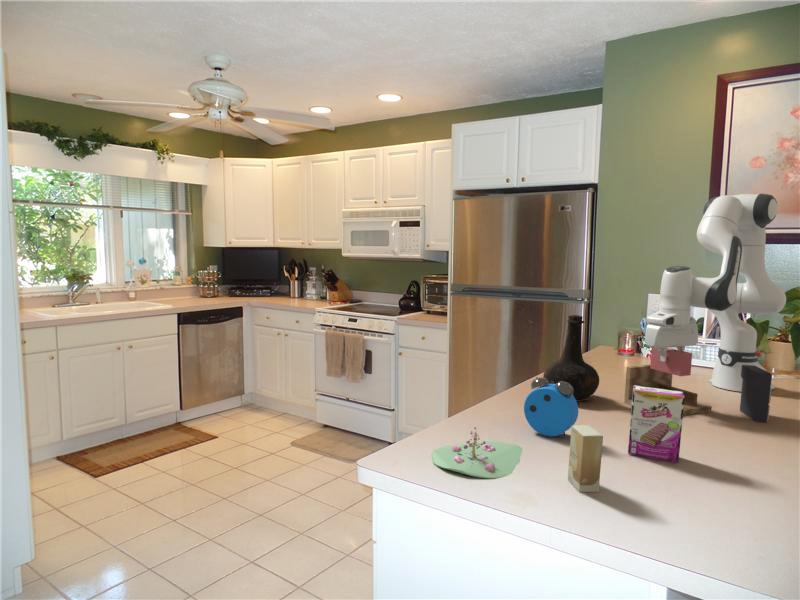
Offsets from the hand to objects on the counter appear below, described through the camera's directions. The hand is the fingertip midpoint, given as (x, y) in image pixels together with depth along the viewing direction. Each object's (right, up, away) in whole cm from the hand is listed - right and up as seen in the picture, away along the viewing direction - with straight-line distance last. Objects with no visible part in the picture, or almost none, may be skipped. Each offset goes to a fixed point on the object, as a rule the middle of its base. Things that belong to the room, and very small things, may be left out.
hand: (670, 360), depth 164 cm
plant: (-67, -19, -42) cm, 82 cm away
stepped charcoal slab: (+22, -17, -7) cm, 28 cm away
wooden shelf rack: (0, -15, +2) cm, 15 cm away
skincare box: (-48, -20, -56) cm, 76 cm away
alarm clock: (-46, -17, -26) cm, 56 cm away
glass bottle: (-29, -14, +9) cm, 34 cm away
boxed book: (0, -4, 0) cm, 4 cm away
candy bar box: (-25, -19, -39) cm, 50 cm away
